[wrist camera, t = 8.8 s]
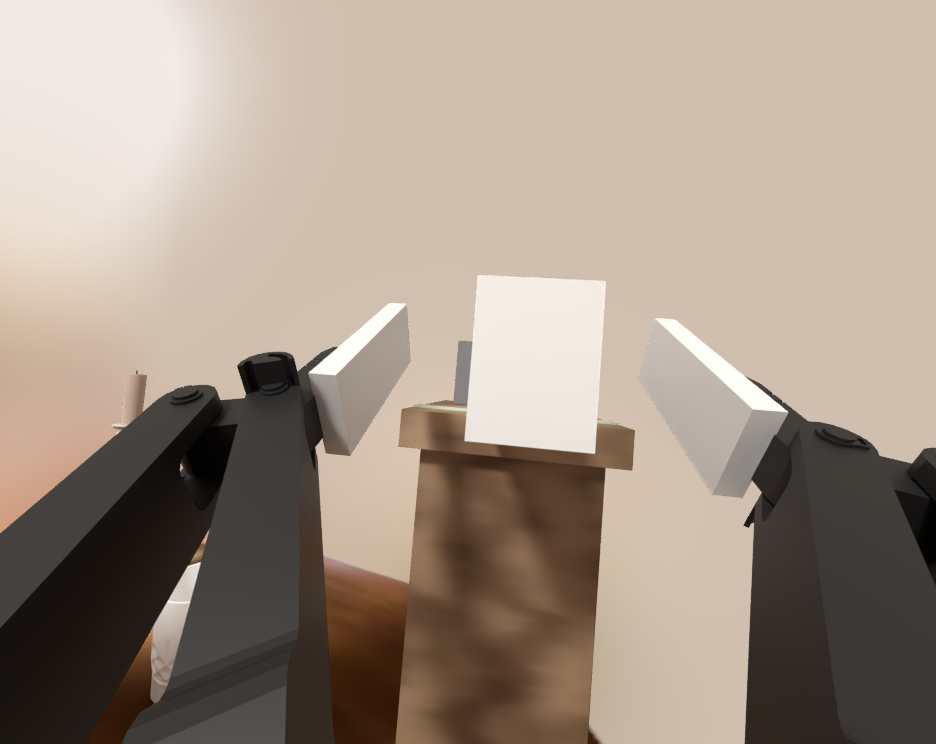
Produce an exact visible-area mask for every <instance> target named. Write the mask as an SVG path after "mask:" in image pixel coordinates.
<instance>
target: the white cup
mask: <svg viewBox="0 0 936 744" xmlns="http://www.w3.org/2000/svg"><path fill="white" fill-rule="evenodd" d="M200 564H201V562H200V563H196V564H193V565H190V566H188V567H187V569H186V570H185V572H184V574H183V575H182V577H181V579H180V581H179V582H178V584H177V586H176V588H175V589H174V591H173V593H172V595H171V596H170V598H169V600H168V602H167V603H166V605H165V607H164V609H163V610H162V612H161V614H160V615H159V617H158V619H157V621H156V622H155V624H154V626H153V628H152V644H151V648H152V652H151V666H152V681H151V697H150V698H151V700H152V701H153V703H154V704H155V703H156V702H158V701H159V700H160V698H161V697H162V695H163V694H164V692H165V690H166V687H167V685H168V682H169V679H170V675H171V672H172V668H173V664H174V661H175V657H176V653H177V649H178V646H179V642H180V638H181V634H182V631H183V627H184V623H185V620H186V616H187V612H188V608H189V605H190V601H191V597H192V593H193V590H194V586H195V582H196V579H197V575H198V571H199V567H200Z"/></svg>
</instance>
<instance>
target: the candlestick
mask: <svg viewBox="0 0 936 744" xmlns="http://www.w3.org/2000/svg"><path fill="white" fill-rule="evenodd" d="M146 379H147V375H140V374H137V371H136V374H126V381H125V389H124V397H123V407H122V414H121V422H120V423H119V424H113V425H112V426H113V427H114V428H115V429H116V431H117V434H118V433H119V432H120V431H121V430H122V429H124V428H125V427H126V426H127V425H128V424H130V423H131V422H132V421H133V420H134V419H135V418H137V417H138V416H139V415H140V414H141V413H142V412H143V404H144V396H145V387H146ZM117 434H116V435H117Z"/></svg>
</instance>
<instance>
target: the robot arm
mask: <svg viewBox="0 0 936 744" xmlns="http://www.w3.org/2000/svg"><path fill="white" fill-rule="evenodd" d="M409 363H410V346H409V330H408V316H407V304H399V303H389V304H388V305H387V306H386V307H384V308H383V309H382V310H381V311H380V312H379V313H377V314H376V315H375V316H374V317H373V318H372V319H371V320H369V321H368V322H367V323H366V324H365V325H364V326H362V327H361V328H360V329H359V330H358V331H357V332H355V333H354V334H353V335H352V336H351V337H350V338H349V339H348V340H346V341H345V342H344V343H343V344H342V345H340V346H339V347H333V348H331V349H328V350H326V351H323V352H321V353H320V354H319V355H317V356H316V357H315V358H314V359H313V360H312V361H310V362H309V363H308V364H307V365H306V366H304V367H303V368H301V369H300V370H299V371H298V372H297V369H296V365H295V361H294V357H293V356H292V355H291V354H289V353H286V352H267V353H263V354H257V355H254V356H252V357H249V358H247V359H245V360H243V361H241V362H240V363H239V365H238V366H237V367H238V370H239V373H240V376H241V379H242V382H243V386H244V389H245V392H246V396H245V398H242V399H232V400H220V399H219V396H218V393H217V391H216V389H215V387H212V386H209V385H196V386H191V385H190V386H185V387H184V388H183V387H181V388H177V389H175V390H174V391H172V392H170V393H167V394H165V395H164V396H162V397H161V398H159V399H158V400H157V401H156V402H154V403H153V404H152V405H151V406H150V407H148V408H147V409H146V410H145V411H144V412H142V413H141V414H140V415H139V416H138V417H137V418H135V419H134V420H133V421H132V422H131V423H130V424H128V425H127V426H126V427H125V428H124V429H122V430H121V431H120V432H119V433H118V434H117V435H115V436H114V437H113V438H112V439H111V440H110V441H108V442H107V443H106V444H105V445H104V446H103V447H101V448H100V449H99V450H98V451H97V452H95V453H94V454H93V455H92V456H91V457H90V458H89V459H87V460H86V461H85V462H84V463H83V464H82V465H80V466H79V467H78V468H77V469H76V470H74V471H73V472H72V473H71V474H70V475H68V476H67V477H66V478H65V479H64V480H63V481H61V482H60V483H59V484H58V485H57V486H56V487H55V488H53V489H52V490H51V491H50V492H48V493H47V494H46V495H45V496H44V497H43V498H41V499H40V500H39V501H38V502H37V503H36V504H34V505H33V506H32V507H31V508H30V509H28V510H27V511H26V512H25V513H24V514H23V515H22V516H20V517H19V518H18V519H17V520H16V521H14V522H13V523H12V524H11V525H10V526H9V527H7V528H6V529H5V530H4V531H3V532H1V533H0V744H86V742H87V741H88V739H89V737H90V735H91V734H92V732H93V730H94V729H95V727H96V725H97V723H98V722H99V720H100V718H101V716H102V715H103V713H104V711H105V709H106V708H107V706H108V704H109V702H110V701H111V699H112V697H113V695H114V694H115V692H116V690H117V689H118V687H119V685H120V683H121V682H122V680H123V678H124V676H125V675H126V673H127V671H128V669H129V668H130V666H131V664H132V662H133V661H134V659H135V657H136V655H137V654H138V652H139V650H140V649H141V647H142V645H143V643H144V642H145V640H146V638H147V636H148V635H149V633H150V631H151V629H152V628H153V626H154V624H155V622H156V621H157V619H158V617H159V615H160V614H161V612H162V610H163V609H164V607H165V605H166V603H167V602H168V600H169V598H170V596H171V595H172V593H173V591H174V589H175V588H176V586H177V584H178V582H179V581H180V579H181V577H182V575H183V574H184V572H185V570H186V569H187V567H188V565H189V563H190V562H191V560H192V558H193V556H194V555H195V553H196V551H197V549H198V548H199V546H200V544H201V542H202V541H203V539H204V537H205V535H206V534H207V532H208V530H209V529H210V530H209V534H208V538H207V541H206V545H205V549H204V553H203V556H202V560H201V564H200V567H199V571H198V575H197V579H196V582H195V586H194V590H193V593H192V597H191V601H190V605H189V608H188V612H187V616H186V620H185V623H184V627H183V631H182V634H181V638H180V642H179V646H178V649H177V653H176V657H175V661H174V664H173V668H172V672H171V675H170V679H169V682H168V685H167V687H166V690H165V692H164V694H163V695H162V697H161V698H160V700H159V701H158V702H156V703H155V704H153V705H151V706H150V707H148V708H146V709H145V710H143V711H141V712H140V713H139V714H138V716H137V717H136V719H135V720H134V722H133V723H132V725H131V726H130V727H129V729H128V730H127V732H126V735H125V737H124V740H123V742H122V744H335V737H334V729H333V716H332V698H331V681H330V664H329V647H328V630H327V613H326V596H325V579H324V562H323V546H322V528H321V511H320V494H319V476H318V459H317V454H316V450H315V447H316V445H317V444H318V443H319V442H320V440H321V439H322V438H323V442H324V446H325V451H326V453H328V454H337V455H347V456H350V455H351V454H352V452H353V450H354V449H355V447H356V445H357V444H358V443H359V441H360V440H361V438H362V436H363V435H364V433H365V432H366V430H367V428H368V427H369V425H370V424H371V422H372V421H373V419H374V418H375V416H376V414H377V413H378V411H379V410H380V408H381V407H382V405H383V404H384V402H385V400H386V399H387V397H388V396H389V394H390V393H391V391H392V389H393V388H394V386H395V385H396V383H397V382H398V380H399V378H400V377H401V375H402V374H403V372H404V371H405V369H406V368H407V366H408V364H409ZM638 379H639V381H640V383H641V384H642V386H643V387H644V389H645V390H646V392H647V394H648V395H649V397H650V398H651V400H652V401H653V403H654V405H655V406H656V408H657V409H658V411H659V412H660V414H661V415H662V417H663V419H664V420H665V422H666V423H667V425H668V426H669V428H670V429H671V431H672V433H673V434H674V436H675V437H676V439H677V440H678V442H679V444H680V445H681V446H682V448H683V450H684V451H685V453H686V454H687V456H688V458H689V459H690V461H691V462H692V464H693V466H694V467H695V469H696V470H697V472H698V473H699V475H700V476H701V478H702V479H703V481H704V483H705V484H706V486H707V487H708V489H709V491H710V492H711V494H712V495H722V496H730V497H739V498H743V496H744V494H745V492H746V490H747V489H748V487H749V485H750V483H751V481H753V482H754V483H755V484H756V485H757V487H758V488H759V489H760V491H761V492H762V493H761V495H760V497H759V499H758V500H757V502H756V504H755V506H754V507H753V509H752V511H751V513H750V515H749V516H748V518H747V520H746V522H745V524H744V526H746V527H748V528H749V526H750V525H751V523H754V541H753V564H752V587H751V588H752V589H751V610H750V611H751V612H750V633H749V657H748V658H749V659H748V680H747V703H746V705H747V706H746V727H745V744H936V448H927V449H924V450H923V451H922V452H921V453H920V455H919V456H918V457H917V458H916V460H915V461H914V462H913V463H912V464H911V463H907V462H903V461H898V460H894V459H890V458H886V457H882V456H879V454H878V451H877V450H876V448H875V447H874V446H873V445H872V444H871V443H870V442H868V441H867V440H866V439H864V438H862V437H861V436H859V435H856V434H855V433H852V432H850V431H848V430H845V429H843V428H840V427H836V426H834V425H830V424H825V423H821V422H808V421H807V420H806V419H804V418H803V417H802V416H801V415H799V414H798V413H797V412H795V411H794V410H793V409H792V408H791V407H789V406H788V405H787V404H786V403H782V400H781V399H779V398H778V397H776V396H775V395H772V392H770V391H769V390H768V389H767V388H765V387H764V386H763V385H762V384H760V383H758V382H756V381H754V380H751V379H749V378H748V377H746V376H744V375H742V374H741V373H740V372H739V371H737V370H736V369H735V368H734V367H733V366H731V365H730V364H729V363H727V362H726V361H725V360H724V359H723V358H721V357H720V356H719V355H718V354H717V353H715V352H714V351H713V350H712V349H710V348H709V347H708V346H707V345H706V344H704V343H703V342H702V341H701V340H699V339H698V338H697V337H696V336H695V335H693V334H692V333H691V332H690V331H688V330H687V329H686V328H685V327H683V326H682V325H681V324H680V323H679V322H677V321H676V320H675V319H659V318H655V319H654V323H653V326H652V330H651V333H650V337H649V340H648V344H647V347H646V351H645V355H644V358H643V362H642V365H641V369H640V372H639V376H638ZM180 464H182V466H183V469H182V471H181V472H180Z"/></svg>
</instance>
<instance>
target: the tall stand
mask: <svg viewBox="0 0 936 744" xmlns="http://www.w3.org/2000/svg"><path fill="white" fill-rule="evenodd" d="M466 415H467V405H465V404H454V401H447V400H445V401H440V402H435V403H430V404H425V405H424V404H418V405H414V407H410V408H406V409H402V412H401V424H400V435H399V447H407V448H417V449H421V453H420V465H419V476H418V488H417V501H416V511H415V523H414V534H413V547H412V558H411V570H410V581H409V593H408V604H407V616H406V627H405V639H404V651H403V662H402V674H401V685H400V697H399V709H398V720H397V732H396V743H395V744H587V742H588V727H589V712H590V696H591V681H592V666H593V665H592V664H593V649H594V635H595V618H596V604H597V589H598V573H599V559H600V558H599V557H600V543H601V528H602V513H603V496H604V482H605V468H612V469H623V470H632V466H633V451H634V450H633V449H634V435H635V430H632V429H629V428H626V427H623V426H619V425H618V423H615V422H612V421H605V420H601V419H598V418H597V430H596V446H595V454H591V453H581V452H571V451H561V450H551V449H540V448H530V447H520V446H510V445H500V444H490V443H480V442H469V441H464V440H465V428H466Z"/></svg>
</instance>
